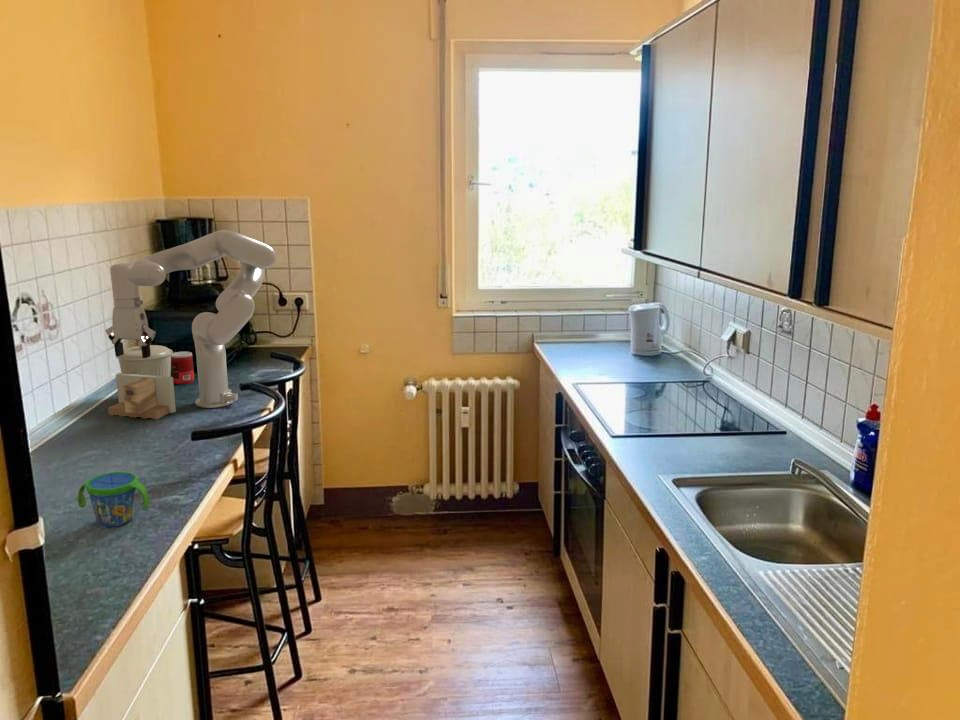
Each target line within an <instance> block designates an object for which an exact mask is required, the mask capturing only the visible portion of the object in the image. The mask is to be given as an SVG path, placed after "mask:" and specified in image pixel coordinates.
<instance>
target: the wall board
mask: <svg viewBox="0 0 960 720" xmlns="http://www.w3.org/2000/svg"><path fill="white" fill-rule="evenodd" d="M140 378H146V379H154V382H155V392H156V402H157V406H154V407H152V408H150V409H148V410H146V411H144V412H141V413H139V414H138V413H127V412H125V403H124V394H123V385H125V384H127V383H130V382H132V381H135V380H137V379H140ZM115 381H116V391H117V399H118V403H116V404H114V405H111V406H109V407H108V408H107V410H108V416H113V415H119V416H118V417H124V416H129V417H128V418H136V417H141V418H140V419H147V418H154V419H153V420H159V419H161V418H163V417H165V416H167V415H169V414H168V413H170V414H171V413H173V412H175V413H176V412H177V408H176V399H175V398H176V396H175V395H176V394H175V384H174V383H173V377H172V376H170V377H165V376H152V375H139V374H126V373H122V372H118V373H116V374H115ZM166 414H167V415H166ZM173 414H174V413H173ZM164 415H165V416H164ZM162 416H163V417H162ZM160 417H161V418H160ZM158 418H159V419H158Z"/></svg>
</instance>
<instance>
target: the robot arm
mask: <svg viewBox="0 0 960 720" xmlns="http://www.w3.org/2000/svg"><path fill="white" fill-rule="evenodd" d="M276 255H277V254H276V251H275V250H274V249H273V248H272V247H271V246H270V245H269V244H266V243H264V242H262V241H259V240H256V239H254V238H251V237H250V236H249V237H248V236H246V235H244V234H242V233H239V232H236V231H235V230H234V231H233V230H228V229H219V230H216V231H214V232H211V233H208V234H206V235H203V236H202V237H198V238H196V239H194V240H191V241H188V242H186V243H184V244H180V245H177V246H174V247H170V248H167V249H164V250H161V251H160V250H159V251H158V252H155V253H152V254H150V255H147V256H144V257H143V258H140V259H138V260H137V261H135V262H134V263H126V262H125V263H123V262H121V263H116V264H113V265H111V266H110V269H109V271H110V281H111V289H112V290H111V291H112V298H113V306H114V307H113V308H112V314H111V319H112V321H111V322H112V326H109V327H108V328H106V329H105V330H104V331H105V333H106V334H107V336H108V339H109V340H110V341H111V343H112V345H113V346H114V347H113V348H114V352H115V357H116V356H117V357H118V356H121V355H123V354H124V342H122V340H133V341H138V342H139V341H140V342H141V343H142V345H143V346H142V347H141V349H142V357H143V358H147V357H150V353H151V352H150V345H152V342H154V340H155V337H156V334H157V332H156V331H155V330H153V329H151V328H150V327H149V323H148V318H147V314H146V311H145V309H144V307H143V306H141V305H143V304H144V302H143V300H141V297H140V287H155V286H156V287H157V286H159V285H161V284H163V283H164V282H165V280H166V276H167V274H169V273H172V272H173V273H174V272H178V271H187V270H189V271H190V270H195V269H198V268H201V267H203V266H205V265H207V264H210V263H212V262H215V261H216V260H220V259H221V258H224V257H229V258H231V259H233V260H234V259H235V260H237V261H239V262H240V269H239V272H238V274H237V275H236V276H235V278H234V279H233V280H232V281H231V282H230V283H229V284H228V286H227V287H225V289H224V290H223V291H222V292H221V293H220V294H219V295H218V297H217V298H216V301H215V307H216V309H217V311H218V312H217V313H214V312H210V311H209V312H208V311H204V312H200V313H199V314H197V315H196V316H195V317H194V319H193V320H192V323H191V333H192V339H193V342H194V348H195V355H196V356H195V357H196V367H197V368H196V369H197V381H198V390H199V391H198V393H199V394H198V395H199V397H198V398H197V399H196V400H195V402H194V403H195V406H196V407H199V408H204V409H205V408H206V409H213V408H222V407H227V406H229V405H231V404H233V403H234V401H238V399H239V393H233V392H232V389H231V388H229V381H228V380H229V379H228V367H227V353H226V347H225V346H226V344H228V343H229V342H230V341H232V339H234V337H235V336H236V335H237V334H238V333H239V332H240V331H241V330H242V329H243V328H244V326H246V324H247V323H249V322H248V321H249V320H250V319H251V318H252V317H253V315H254V312H255V309H256V305H255V300H254V299H253V297H255V295H256V293H257V292H258V291H259V290H260V288H261V286H262V285H263V283H264V282H263V281H264V279H265V270H266V269H269V268H272V266H273V265H274V264H275V263H276V260H277V259H276V258H277V256H276Z"/></svg>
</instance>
